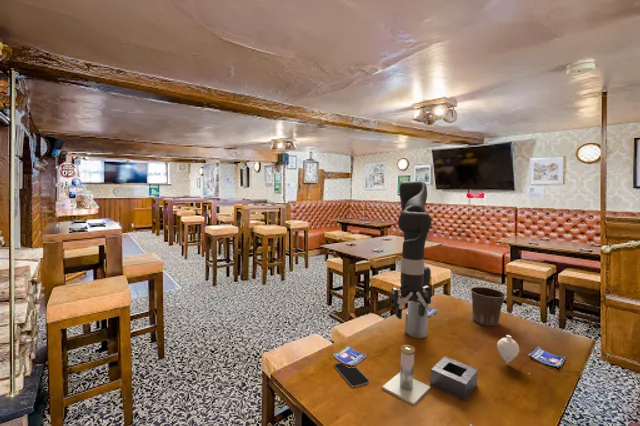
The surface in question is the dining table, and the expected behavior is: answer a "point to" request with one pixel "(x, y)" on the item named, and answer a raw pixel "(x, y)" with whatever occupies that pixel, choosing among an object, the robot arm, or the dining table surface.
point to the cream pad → (407, 396)
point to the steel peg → (407, 367)
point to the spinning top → (508, 348)
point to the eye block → (454, 378)
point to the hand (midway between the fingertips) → (410, 316)
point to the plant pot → (486, 305)
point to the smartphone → (352, 375)
